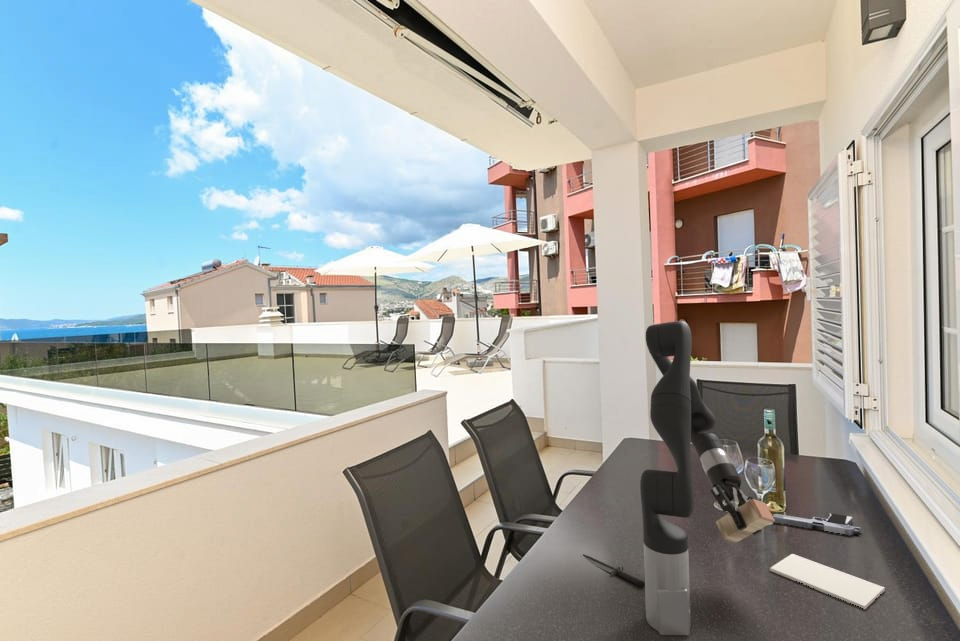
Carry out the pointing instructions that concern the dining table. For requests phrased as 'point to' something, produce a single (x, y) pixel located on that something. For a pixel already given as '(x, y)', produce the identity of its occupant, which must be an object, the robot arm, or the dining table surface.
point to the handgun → (822, 523)
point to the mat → (828, 580)
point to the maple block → (746, 521)
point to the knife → (615, 571)
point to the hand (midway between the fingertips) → (750, 530)
